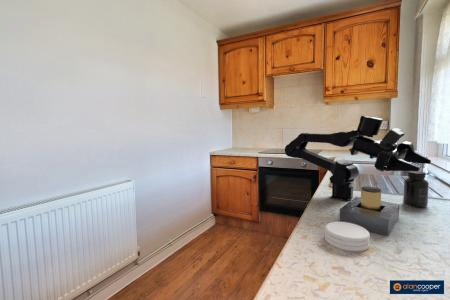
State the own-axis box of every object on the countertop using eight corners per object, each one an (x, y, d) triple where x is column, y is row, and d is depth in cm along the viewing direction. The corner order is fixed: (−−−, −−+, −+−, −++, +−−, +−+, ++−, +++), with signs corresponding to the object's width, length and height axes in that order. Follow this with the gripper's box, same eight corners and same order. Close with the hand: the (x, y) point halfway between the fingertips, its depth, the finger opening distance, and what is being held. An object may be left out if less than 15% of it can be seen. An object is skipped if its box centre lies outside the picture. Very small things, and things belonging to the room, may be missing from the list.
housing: (339, 223, 70) (339, 208, 69) (355, 209, 81) (356, 196, 80) (387, 236, 61) (388, 219, 61) (398, 218, 73) (399, 204, 72)
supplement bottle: (425, 203, 85) (427, 171, 84) (429, 209, 79) (432, 174, 78) (401, 201, 89) (403, 169, 87) (404, 206, 83) (406, 172, 81)
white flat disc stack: (318, 243, 59) (318, 229, 59) (332, 230, 66) (333, 217, 66) (363, 258, 52) (363, 242, 52) (373, 241, 59) (374, 228, 59)
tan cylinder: (358, 221, 71) (359, 188, 70) (362, 216, 75) (364, 185, 74) (377, 225, 68) (379, 191, 67) (381, 220, 71) (382, 188, 70)
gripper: (364, 130, 75) (423, 147, 63) (391, 122, 85) (446, 135, 73) (355, 161, 79) (408, 183, 68) (381, 150, 89) (432, 167, 78)
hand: (424, 165), depth 71 cm, fingers open, 9 cm apart
